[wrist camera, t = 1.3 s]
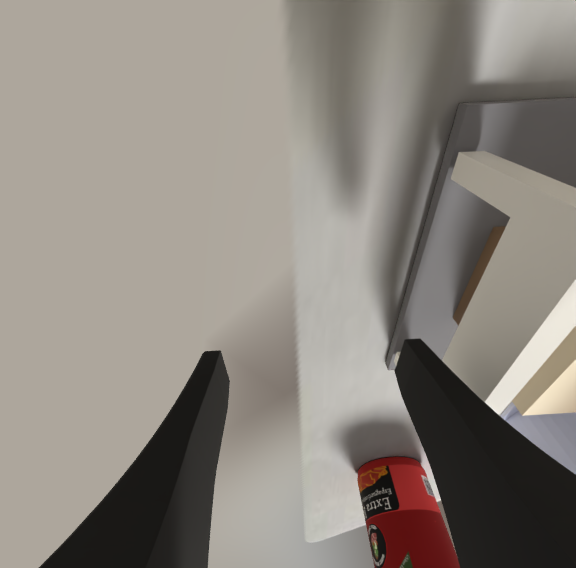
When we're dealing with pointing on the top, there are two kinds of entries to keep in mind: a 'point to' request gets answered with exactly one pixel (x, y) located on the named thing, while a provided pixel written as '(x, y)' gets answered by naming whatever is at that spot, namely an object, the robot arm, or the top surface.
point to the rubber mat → (477, 207)
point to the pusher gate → (516, 280)
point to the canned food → (403, 516)
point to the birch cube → (555, 370)
